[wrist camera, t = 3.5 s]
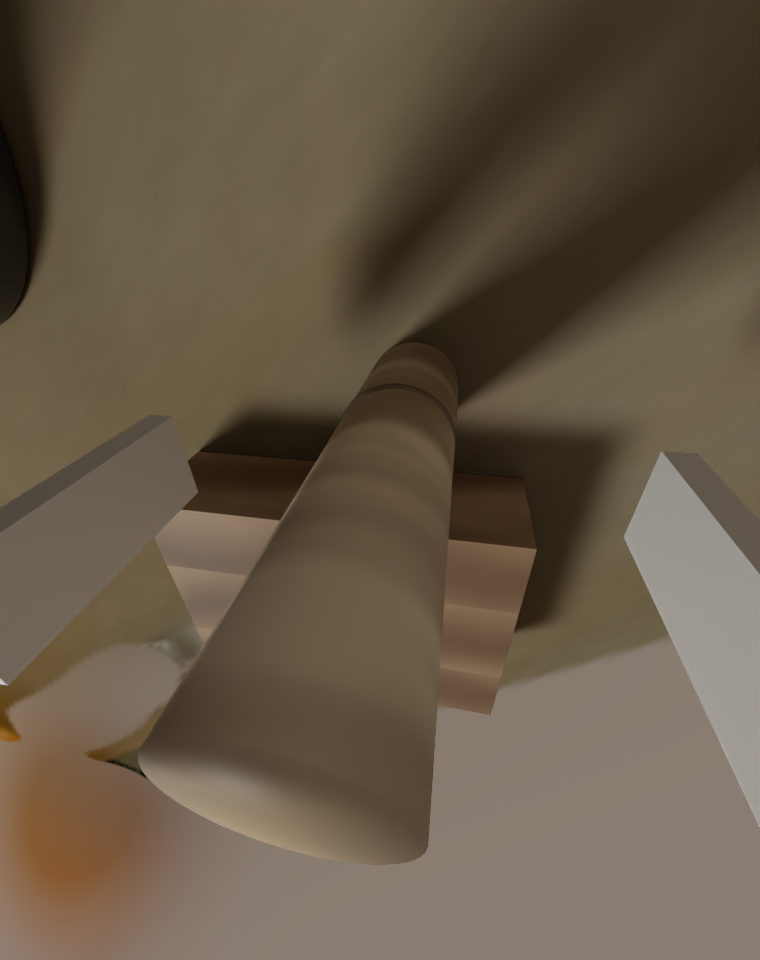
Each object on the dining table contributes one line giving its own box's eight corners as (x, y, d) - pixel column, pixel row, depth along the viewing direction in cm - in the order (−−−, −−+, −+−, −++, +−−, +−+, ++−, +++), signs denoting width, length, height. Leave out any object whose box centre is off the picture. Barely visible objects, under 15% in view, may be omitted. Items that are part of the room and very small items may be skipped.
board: (198, 451, 20) (138, 504, 17) (522, 478, 17) (537, 549, 14) (247, 602, 27) (213, 664, 23) (487, 638, 24) (490, 714, 21)
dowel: (367, 339, 15) (79, 705, 4) (464, 342, 15) (443, 783, 3) (371, 425, 17) (187, 824, 6) (455, 430, 17) (424, 885, 5)
